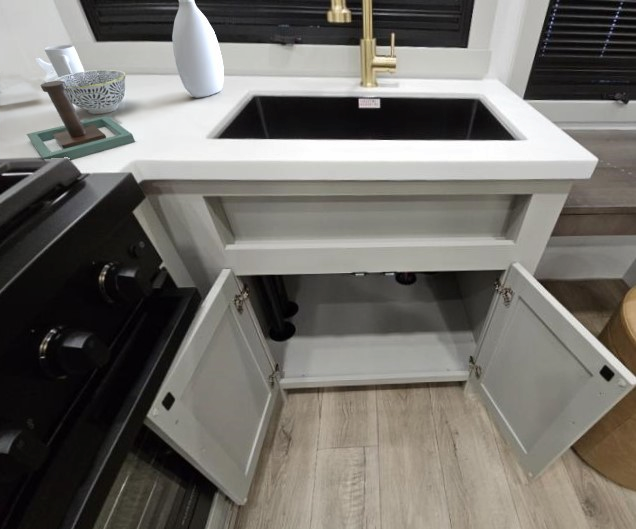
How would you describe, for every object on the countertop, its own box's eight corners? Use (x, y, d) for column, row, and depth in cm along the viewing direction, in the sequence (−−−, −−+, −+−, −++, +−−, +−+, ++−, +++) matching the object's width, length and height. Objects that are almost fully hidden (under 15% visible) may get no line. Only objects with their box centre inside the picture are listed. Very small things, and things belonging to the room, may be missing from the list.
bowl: (103, 123, 76) (88, 88, 71) (53, 117, 80) (34, 83, 75) (149, 103, 87) (138, 71, 82) (103, 98, 91) (90, 67, 86)
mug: (68, 96, 93) (43, 46, 85) (94, 92, 96) (72, 43, 88) (70, 105, 87) (44, 52, 79) (98, 100, 90) (75, 49, 82)
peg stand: (56, 141, 69) (23, 83, 61) (96, 131, 73) (70, 76, 65) (65, 152, 64) (32, 92, 57) (108, 141, 68) (81, 83, 61)
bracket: (56, 83, 108) (36, 58, 102) (76, 74, 109) (58, 49, 104) (54, 92, 100) (32, 66, 94) (76, 83, 101) (55, 56, 95)
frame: (30, 141, 69) (26, 133, 68) (109, 122, 77) (106, 115, 76) (48, 165, 60) (43, 157, 59) (135, 141, 68) (132, 133, 67)
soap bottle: (215, 85, 99) (190, -34, 81) (233, 89, 96) (212, -34, 78) (175, 97, 91) (138, -33, 73) (194, 102, 87) (160, -34, 69)
